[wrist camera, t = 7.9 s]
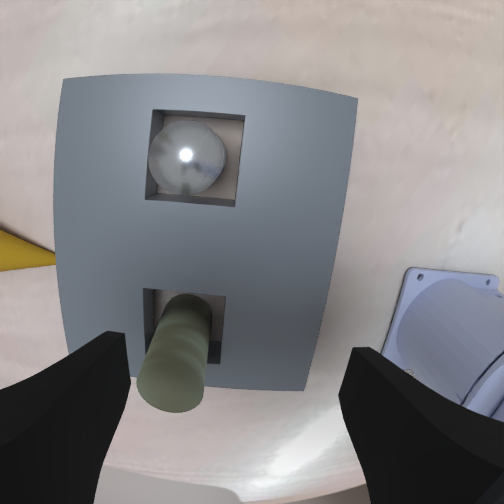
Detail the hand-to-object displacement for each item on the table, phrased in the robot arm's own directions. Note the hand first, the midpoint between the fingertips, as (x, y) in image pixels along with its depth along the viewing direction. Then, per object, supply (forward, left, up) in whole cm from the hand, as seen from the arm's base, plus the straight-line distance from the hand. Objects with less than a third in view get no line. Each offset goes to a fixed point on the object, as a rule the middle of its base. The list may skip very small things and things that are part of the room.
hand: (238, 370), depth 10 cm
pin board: (+3, -2, -10) cm, 10 cm away
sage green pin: (+3, +4, -10) cm, 11 cm away
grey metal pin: (+3, -6, -10) cm, 12 cm away
